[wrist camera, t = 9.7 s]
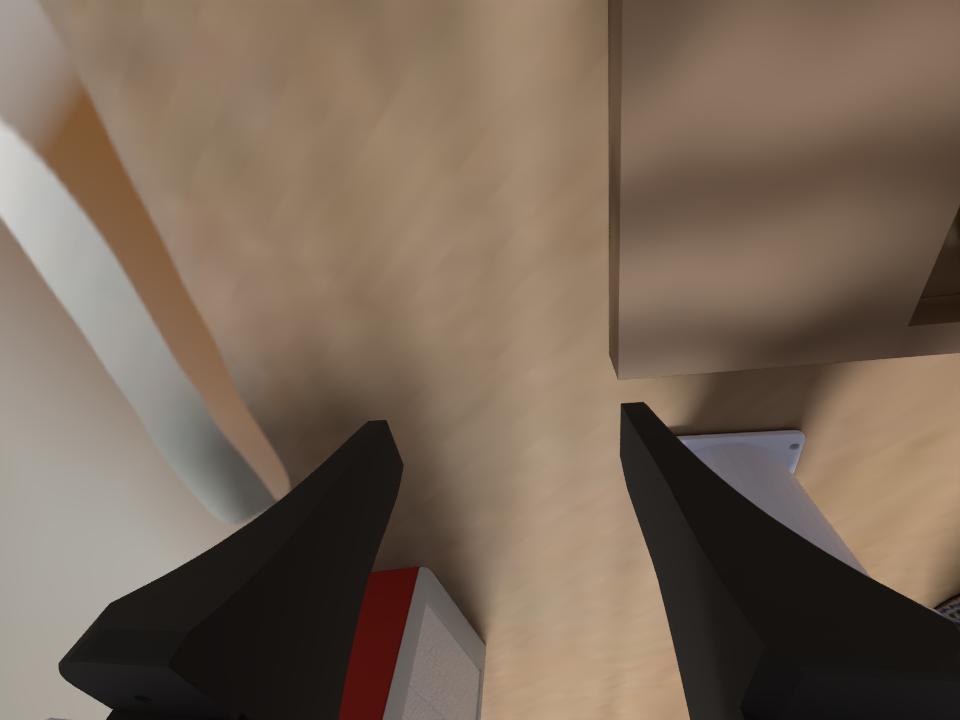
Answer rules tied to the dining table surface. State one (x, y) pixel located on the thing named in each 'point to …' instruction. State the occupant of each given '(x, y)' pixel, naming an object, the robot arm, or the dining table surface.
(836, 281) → the board
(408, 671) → the red white striped box
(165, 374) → the dining table surface
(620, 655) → the dining table surface
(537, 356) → the dining table surface
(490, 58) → the dining table surface
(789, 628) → the robot arm
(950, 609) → the decorative vase
